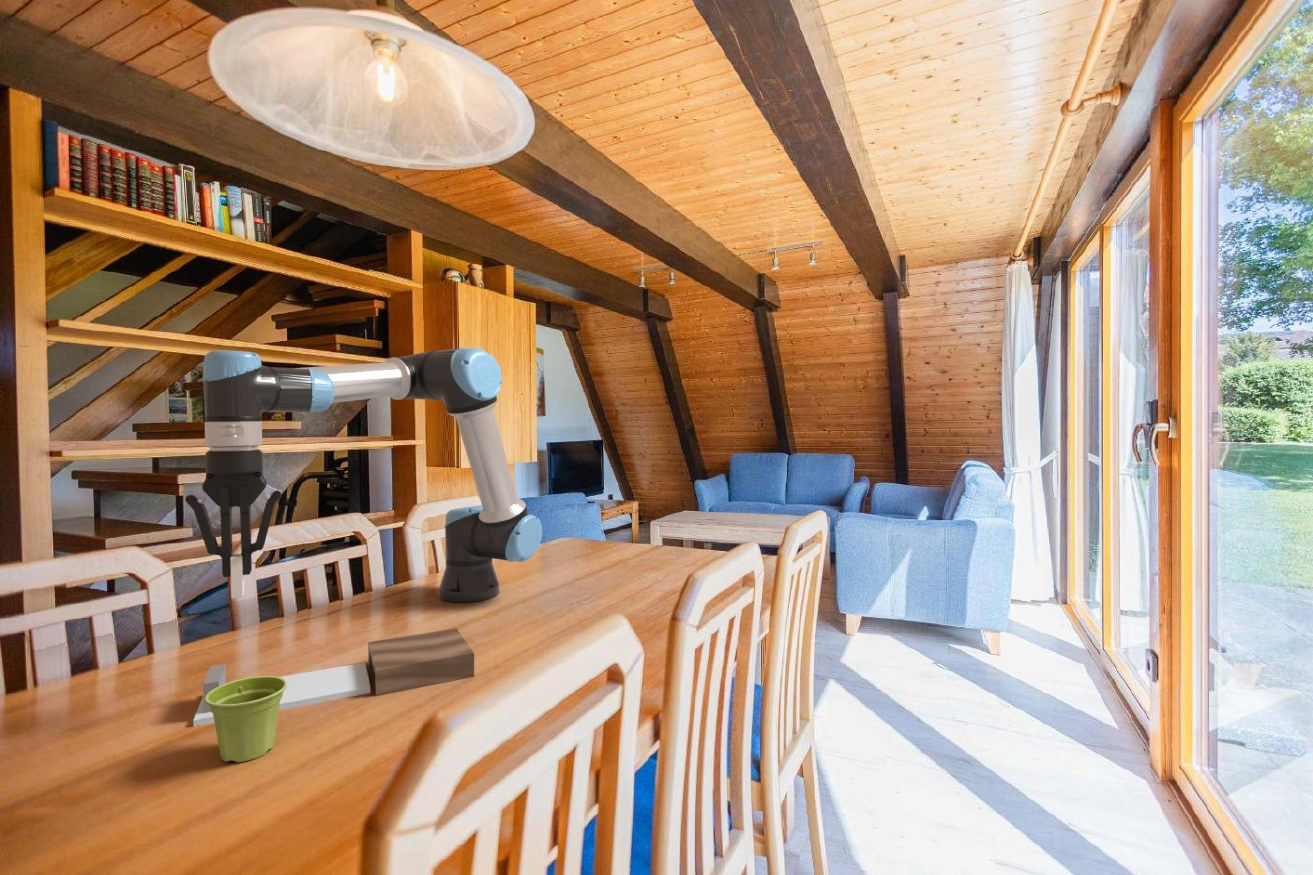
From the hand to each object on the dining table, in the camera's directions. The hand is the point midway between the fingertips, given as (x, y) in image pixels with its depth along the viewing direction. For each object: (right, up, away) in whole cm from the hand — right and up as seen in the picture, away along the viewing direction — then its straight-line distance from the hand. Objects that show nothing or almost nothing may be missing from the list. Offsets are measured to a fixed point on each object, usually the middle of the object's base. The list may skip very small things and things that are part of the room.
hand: (237, 595), depth 100 cm
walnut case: (+24, -17, +14) cm, 33 cm away
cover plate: (+6, -18, +4) cm, 19 cm away
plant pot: (+11, -18, -14) cm, 26 cm away
